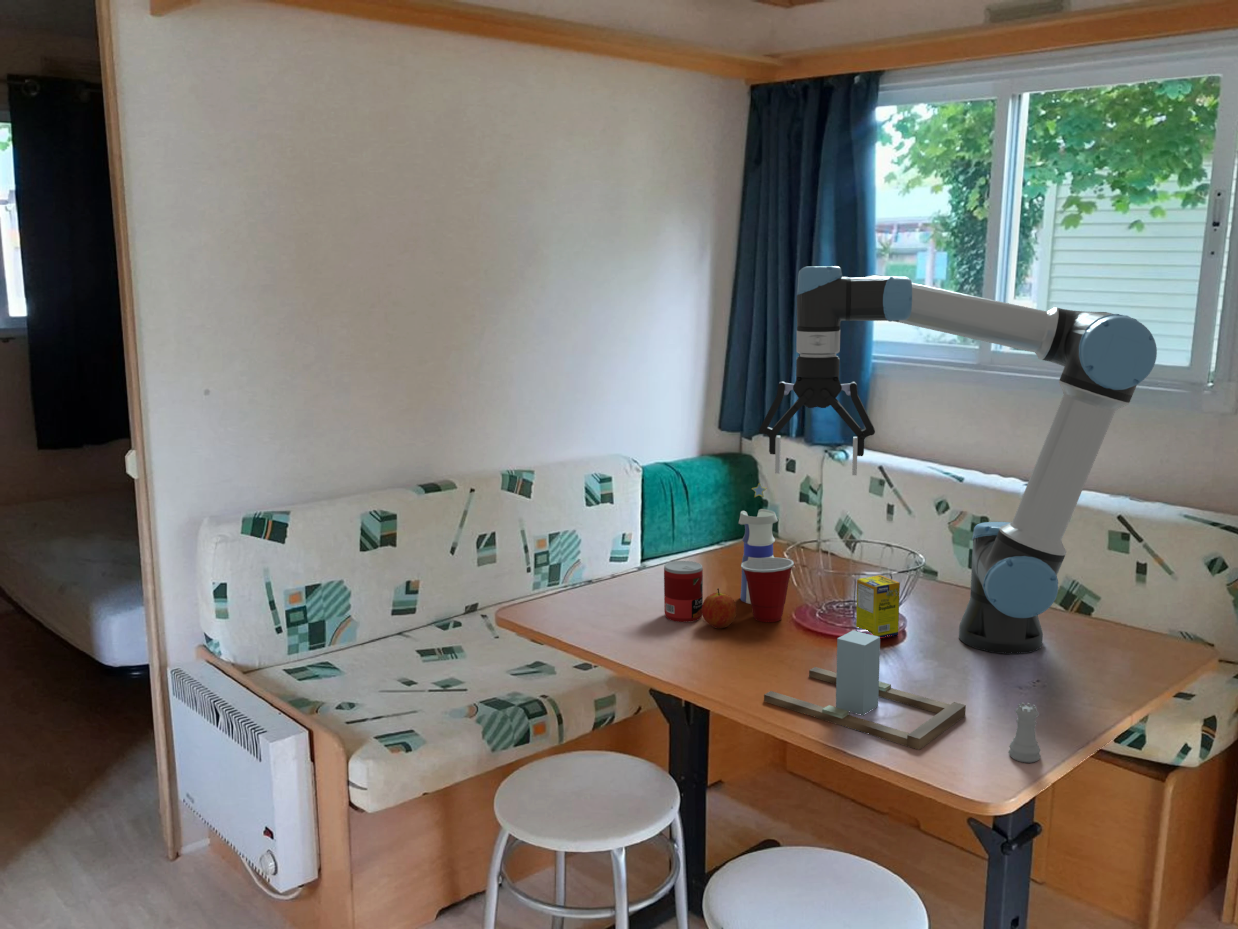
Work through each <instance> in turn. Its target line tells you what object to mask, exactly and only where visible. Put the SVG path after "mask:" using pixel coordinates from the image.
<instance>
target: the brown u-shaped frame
mask: <svg viewBox="0 0 1238 929" xmlns="http://www.w3.org/2000/svg"><path fill="white" fill-rule="evenodd" d="M808 677H809V678H813V679H816V680H821V681H823V682H827V683H830V684H833V683H834V684H833V685H836V677H837V671H836V672H834V671H831V670H828V669H825V668H821V667H817V666H814V667H813V668H810V669H809V671H808ZM879 696H880V698H882V697H883V699H886V700H889V699H890V701H893V702H897V703H901V704H903V705H907V706H911V707H913V708H918V709H921V710H925V711H928V712H931V713H935V715H933V716H932V717H931V718H929V719H928V720H926V721H925V722H924V723H922V724H921V725H920V726H918V727H917V728H916V729H914V730H912V731H911V732H906V731H904V730H900V729H897V728H893V727H890V726H887V725H883V724H881V723H877V722H873V721H871V720H868V719H864V718H862V717H857V716H854V715H851V714H849V713H850V712H849V711H847V710H843V709H840V708H837V707H836V706H833V705H830V704H828V705H827V706H821V705H818V704H815V703H811V702H809V701H805V700H802V699H799V698H795V697H792V696H788V695H786V694H782V693H779V692H775V691H773V690H770V691H768V692H766V693H764V695H763V702H765V703H768V704H770V705H771V704H772V705H774V706H778V707H781V708H784V709H787V710H790V711H794V712H797V713H799V714H803V713H805V714H804V715H806V714H808V715H807V716H809V715H811V716H810V717H812V716H815V717H816V719H819V718H820V719H819V720H822V719H823V721H825V720H826V721H825V722H828V721H829V723H831V722H832V723H833V724H835V723H836V724H835V725H838V724H839V725H838V726H841V725H842V726H841V727H844V726H846V727H845V728H847V727H849V728H848V729H851V728H852V729H851V730H854V729H856V730H855V731H857V730H859V731H858V732H860V731H862V732H861V733H863V732H865V733H864V734H866V733H869V734H868V735H870V736H872V737H876V738H879V737H880V738H879V739H882V738H883V739H882V740H886V741H889V740H890V741H889V742H892V741H893V742H892V743H895V742H896V743H895V744H898V743H899V744H898V745H901V744H902V746H906V747H908V746H909V748H911V747H912V748H911V749H914V748H915V750H917V749H918V751H920V750H921V749H923V748H924V747H925V746H927V745H928V744H930V743H931V742H932V741H933V740H935V739H937V738H938V737H939V736H941V735H942V734H943V733H944V732H945V731H947V730H948V729H950V728H951V727H952V726H954V725H955V724H956V723H958V722H959V721H960V720H961V719H963V718H964V717H966V708H967V707H966V706H967V704H963V703H959V702H957V701H956V702H955V701H952V703H947V702H943V701H940V700H937V699H936V700H935V699H932V698H929V697H924V696H922V695H918V694H915V693H910V692H908V691H905V690H900V689H896V688H892V684H890V683H886V682H883V681H880V680H879V695H878V697H879ZM815 717H814V718H815ZM922 747H923V748H922Z"/></svg>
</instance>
